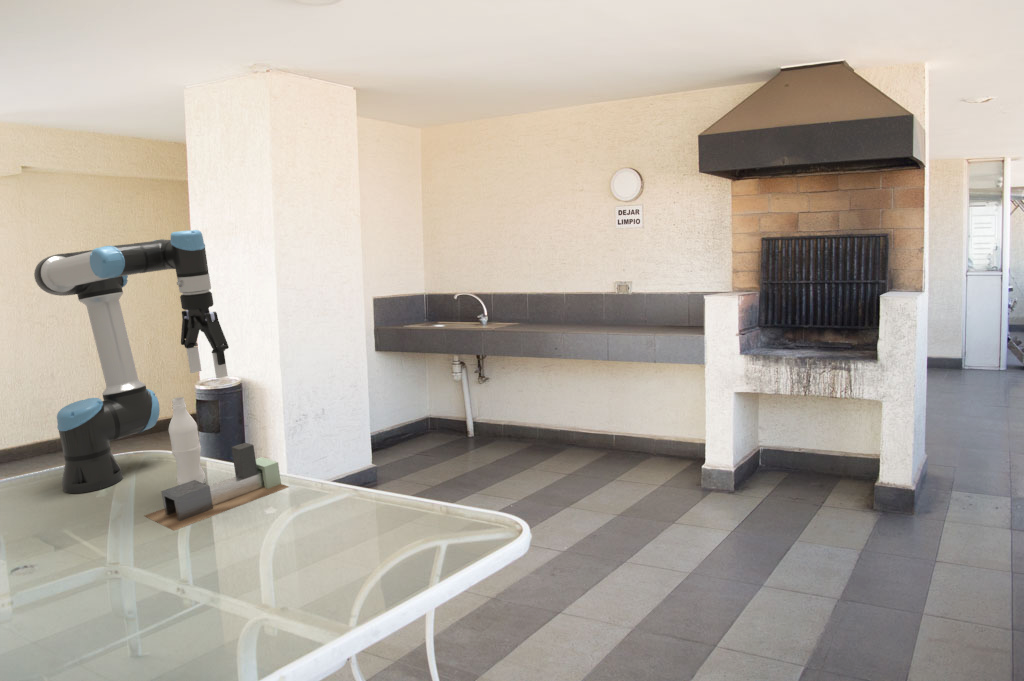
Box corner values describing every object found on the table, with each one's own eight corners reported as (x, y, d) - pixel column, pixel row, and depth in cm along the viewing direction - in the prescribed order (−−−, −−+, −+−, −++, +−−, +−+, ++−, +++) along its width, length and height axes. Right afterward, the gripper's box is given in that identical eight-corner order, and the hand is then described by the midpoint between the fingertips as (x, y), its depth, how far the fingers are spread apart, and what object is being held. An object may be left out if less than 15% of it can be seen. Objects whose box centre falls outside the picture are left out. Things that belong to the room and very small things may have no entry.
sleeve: (165, 514, 197) (161, 491, 195) (198, 502, 203) (194, 479, 202) (179, 521, 191) (175, 497, 190) (213, 508, 198) (209, 485, 196)
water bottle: (198, 481, 221) (183, 393, 216) (212, 486, 217) (197, 396, 212) (173, 490, 216) (158, 400, 211) (187, 495, 211) (172, 403, 207)
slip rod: (192, 507, 200) (184, 461, 197) (267, 479, 215) (260, 437, 212) (199, 510, 197) (192, 464, 195) (275, 482, 212) (268, 439, 210)
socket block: (251, 483, 214) (248, 461, 212) (264, 478, 216) (261, 457, 215) (267, 488, 208) (264, 466, 207) (281, 483, 211) (278, 462, 210)
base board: (144, 519, 197) (143, 515, 197) (257, 478, 219) (256, 475, 219) (174, 534, 186) (173, 530, 186) (290, 490, 209) (289, 486, 208)
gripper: (158, 293, 207) (172, 373, 211) (205, 296, 191) (219, 382, 195) (186, 288, 213) (199, 366, 217) (234, 291, 196) (247, 375, 200)
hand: (208, 374), depth 206 cm, fingers open, 13 cm apart
